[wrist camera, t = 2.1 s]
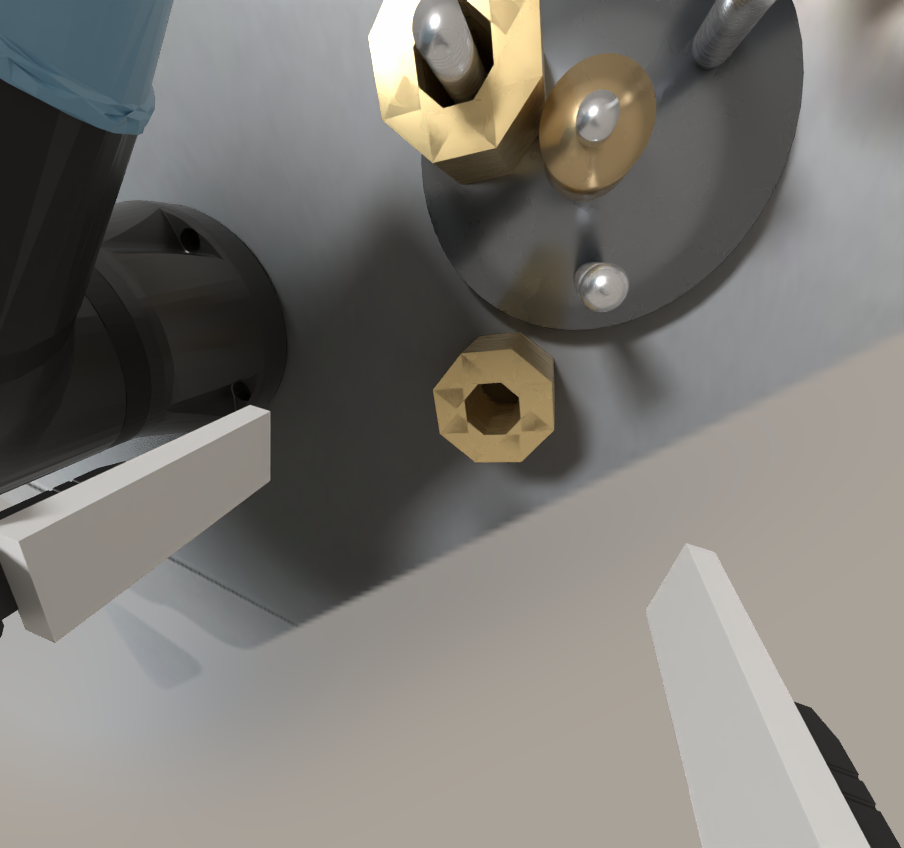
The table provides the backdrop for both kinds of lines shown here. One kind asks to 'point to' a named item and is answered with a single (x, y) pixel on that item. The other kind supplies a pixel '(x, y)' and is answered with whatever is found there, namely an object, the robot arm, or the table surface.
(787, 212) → the table surface
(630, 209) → the carrier
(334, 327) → the table surface
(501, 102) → the planet gear
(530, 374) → the planet gear
